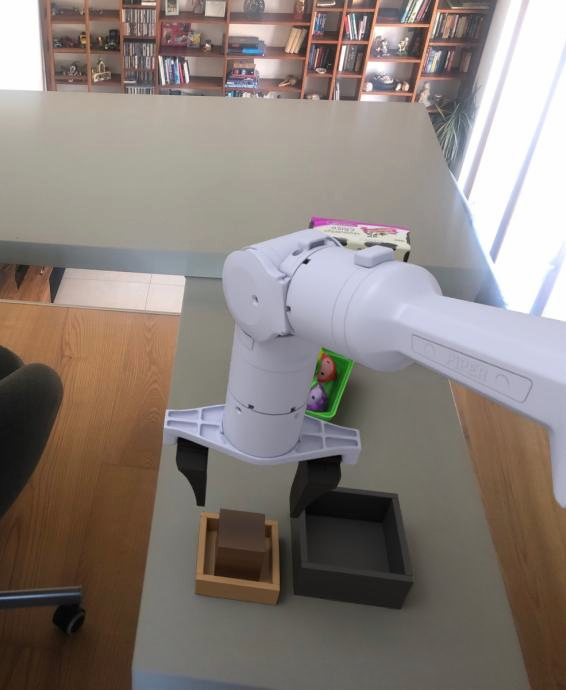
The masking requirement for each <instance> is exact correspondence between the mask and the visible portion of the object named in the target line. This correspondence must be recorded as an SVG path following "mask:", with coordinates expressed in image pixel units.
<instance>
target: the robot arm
mask: <svg viewBox="0 0 566 690" xmlns="http://www.w3.org/2000/svg"><path fill="white" fill-rule="evenodd" d="M221 277H222V278H221V279H222V290H223V295H224V299H225V302H226V305H227V308H228V310H229V313H230V315H231V316H232V318H233V320H234V322H235V325H234V332H233V341H232V347H231V348H232V349H231V355H230V356H231V357H230V365H229V373H228V380H227V388H226V396H225V403H222V404H215V405H208V406H202V407H196V408H189V409H187V408H186V409H168V408H167V409H165V416H164V422H163V432H162V433H163V434H162V444H163V445H170V446H176V452H175V464H176V468H177V470H178V472H180V473H181V475H183V476H184V477H185V479H186V480H187V481H188V483H189V485H190V487H191V489H192V492H193V494H194V498H195V503H196V506H197V507H203V508H205V507H206V499H207V485H208V483H207V482H208V465H209V463H208V462H209V452H210V449H211V450H214V451H216V452H217V453H221V454H224V455H226V456H229V457H231V458H234V459H236V460H239V461H240V462H243V463H246V464H249V465H254V466H260V467H271V466H279V465H285V464H290V463H295V462H298V464H297V468H296V471H295V474H294V477H293V480H292V482H291V487H290V492H289V496H288V497H289V498H288V499H289V518H299V516H300V515H301V513H302V512H303V511H304V510H305V508H306V507H307V506H308V505H309V504H310V503H311V502H312V501H313V500H314V499H316V498H317V497H318V496H320V495H322V494H323V493H325V492H328V491H330V490H333V489H336V488H337V487H339V485H340V482H341V479H342V468H341V464H343V465H347V466H348V465H349V466H357V463H358V461H359V458H360V455H361V451H362V442H361V436H360V430H359V429H358V428H352V427H346V426H341V425H337V424H336V423H335V424H334V423H331V422H329V421H328V422H326V421H323V420H320V419H317V418H314V417H312V416H309V415H306V414H305V411H306V407H307V402H308V398H309V394H310V389H311V385H312V381H313V377H314V373H315V369H316V364H317V360H318V356H319V352H320V348H321V347H323V348H325V349H327V350H330V351H332V352H334V353H337V354H339V355H341V356H344V357H346V358H348V359H350V360H352V361H355V362H354V363H357V364H360V365H362V366H363V367H366V368H369V369H371V370H373V371H374V372H375V371H376V372H380V373H393V372H397V371H401V370H404V369H406V368H408V367H409V366H411V365H412V364H414V363H415V364H417V365H418V366H421V367H422V368H424V369H427V370H428V371H431V372H433V373H434V374H436V375H439V376H441V377H443V378H444V379H447V380H449V381H451V382H452V383H455V384H457V385H458V386H460V387H463V388H464V389H467V390H468V391H471V392H473V393H474V394H477V395H479V396H481V397H482V398H484V399H486V400H489V401H491V402H493V403H495V404H496V405H499V406H501V407H503V408H504V409H507V410H509V411H511V412H512V413H515V414H517V415H519V416H521V417H523V418H525V419H527V420H529V421H531V422H533V423H535V424H537V425H539V426H541V427H543V428H544V429H545V431H546V432H547V434H548V443H549V454H550V466H551V478H552V480H551V481H552V493H553V497H554V499H555V502H556V503H557V504H558V505H559V506H560V507H561V508H562V509H565V510H566V320H560V319H557V318H552V317H551V318H550V317H546V316H542V315H538V314H537V315H536V314H531V313H526V312H521V311H517V310H512V309H507V308H504V307H503V308H502V307H497V306H493V305H488V304H484V303H483V304H482V303H480V302H479V303H478V302H473V301H469V300H463V299H458V298H454V297H449V296H444V294H443V291H442V288H441V287H440V284H439V281H438V280H437V279H436V277H435V276H434V275H433V274H432V273H431V272H430V271H429V270H428V269H426V268H424V267H422V266H420V265H417V264H414V263H410V262H407V263H406V262H401V261H397V260H394V251H393V249H392V248H388V247H383V246H379V245H375V246H372V247H369V248H366V249H362V250H359V251H355V250H351V249H347V248H343V246H342V245H341V244H340V243H339V242H338V241H337V240H336V239H335V238H334V237H332V236H330V235H328V234H324V233H323V232H321V231H319V230H316V229H308V228H306V229H302V230H299V231H296V232H292V233H289V234H285V235H281V236H279V237H275V238H271V239H268V240H264V241H260V242H257V243H254V244H250V245H246V246H244V247H242V248H240V249H239V250H234V251H232V252H231V253H230V254H229V255H228V256H226V259H225V261H224V264H223V268H222V276H221Z"/></svg>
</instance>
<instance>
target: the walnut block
mask: <svg viewBox="0 0 566 690" xmlns="http://www.w3.org/2000/svg"><path fill="white" fill-rule="evenodd" d="M218 514H219V520H218V527H217V534H216V543H215V561H214V576H219V577H227V578H234V579H242V580H249V581H256V582H259V578H260V574H261V569H262V565H263V561H264V556H265V520H266V513H261V512H255V511H253V512H252V511H244V510H238V509H237V510H236V509H228V508H219V513H218Z"/></svg>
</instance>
